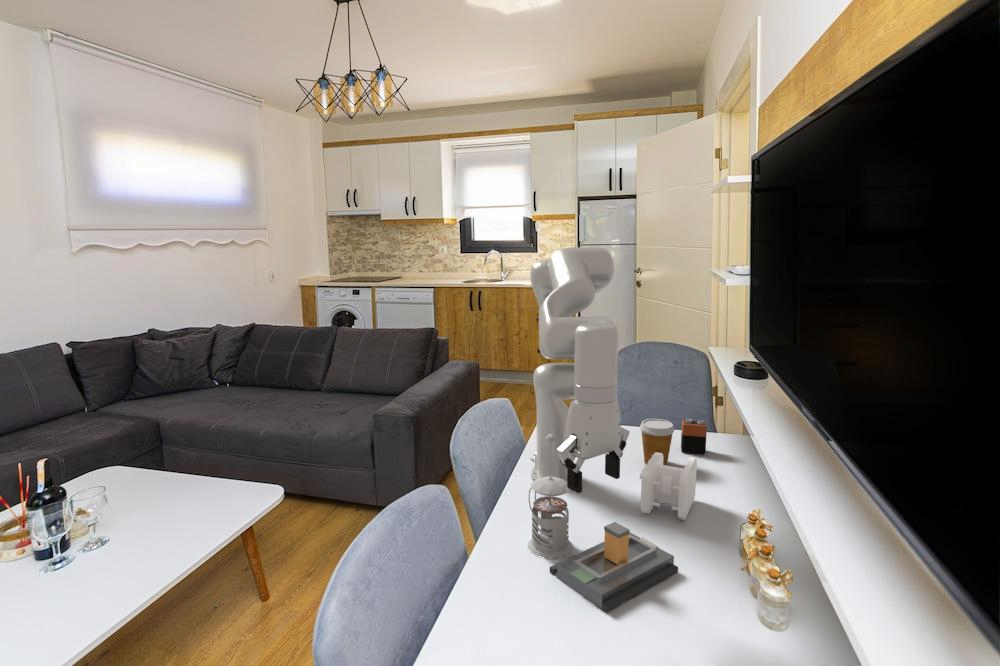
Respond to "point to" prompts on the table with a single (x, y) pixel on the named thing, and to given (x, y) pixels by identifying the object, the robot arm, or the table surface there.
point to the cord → (553, 569)
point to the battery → (693, 436)
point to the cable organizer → (668, 485)
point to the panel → (612, 569)
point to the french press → (550, 517)
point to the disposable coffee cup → (656, 438)
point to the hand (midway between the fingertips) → (593, 483)
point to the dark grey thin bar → (639, 588)
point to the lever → (616, 543)
